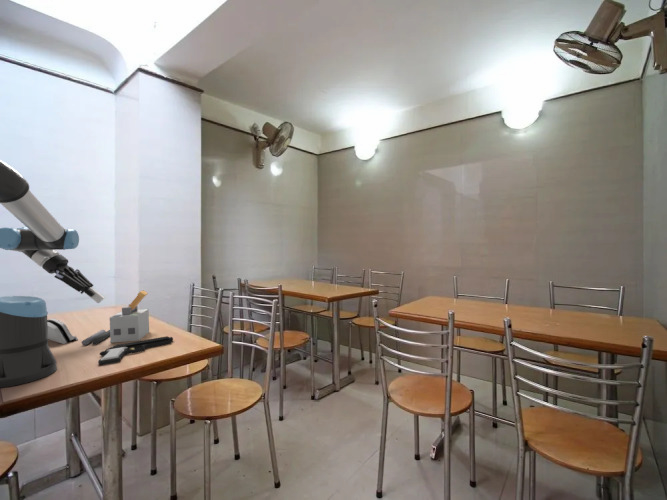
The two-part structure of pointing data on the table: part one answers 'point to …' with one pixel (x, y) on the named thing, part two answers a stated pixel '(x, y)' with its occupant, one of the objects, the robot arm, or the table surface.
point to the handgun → (130, 349)
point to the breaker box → (129, 325)
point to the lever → (137, 300)
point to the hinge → (59, 331)
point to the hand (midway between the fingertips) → (101, 300)
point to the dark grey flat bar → (96, 337)
